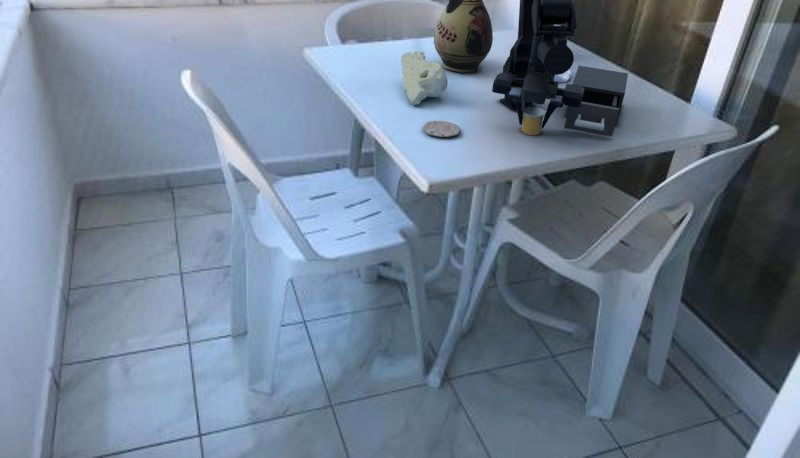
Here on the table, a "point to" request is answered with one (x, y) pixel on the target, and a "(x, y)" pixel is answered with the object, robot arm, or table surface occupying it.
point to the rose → (562, 77)
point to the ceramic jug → (463, 35)
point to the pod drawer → (594, 114)
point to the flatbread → (441, 128)
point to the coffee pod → (532, 120)
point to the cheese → (422, 77)
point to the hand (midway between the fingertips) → (531, 126)
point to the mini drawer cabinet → (602, 82)
